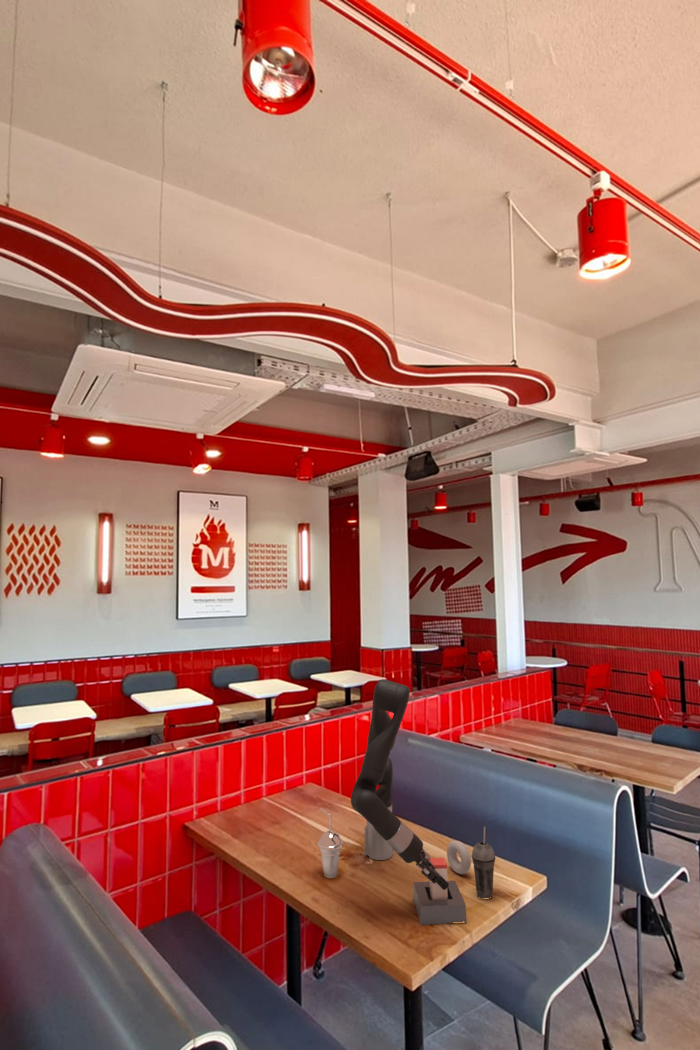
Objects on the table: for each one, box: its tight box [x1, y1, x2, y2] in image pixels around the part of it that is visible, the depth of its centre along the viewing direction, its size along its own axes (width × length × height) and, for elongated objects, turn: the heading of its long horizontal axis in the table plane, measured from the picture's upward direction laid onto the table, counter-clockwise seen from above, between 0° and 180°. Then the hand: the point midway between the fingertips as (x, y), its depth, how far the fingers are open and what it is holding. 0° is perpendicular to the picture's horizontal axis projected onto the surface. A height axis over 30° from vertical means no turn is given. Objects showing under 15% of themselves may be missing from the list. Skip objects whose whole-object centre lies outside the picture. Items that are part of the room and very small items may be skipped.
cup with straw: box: [317, 807, 344, 879], centre depth 191 cm, size 8×9×20 cm
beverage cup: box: [471, 826, 496, 899], centre depth 177 cm, size 7×7×20 cm
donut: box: [446, 840, 472, 875], centre depth 191 cm, size 10×4×10 cm, turn 34°
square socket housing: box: [412, 880, 467, 926], centre depth 169 cm, size 13×13×5 cm
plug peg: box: [429, 857, 448, 900], centre depth 169 cm, size 4×4×12 cm
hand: (444, 882), depth 169 cm, fingers closed on plug peg, 4 cm apart
